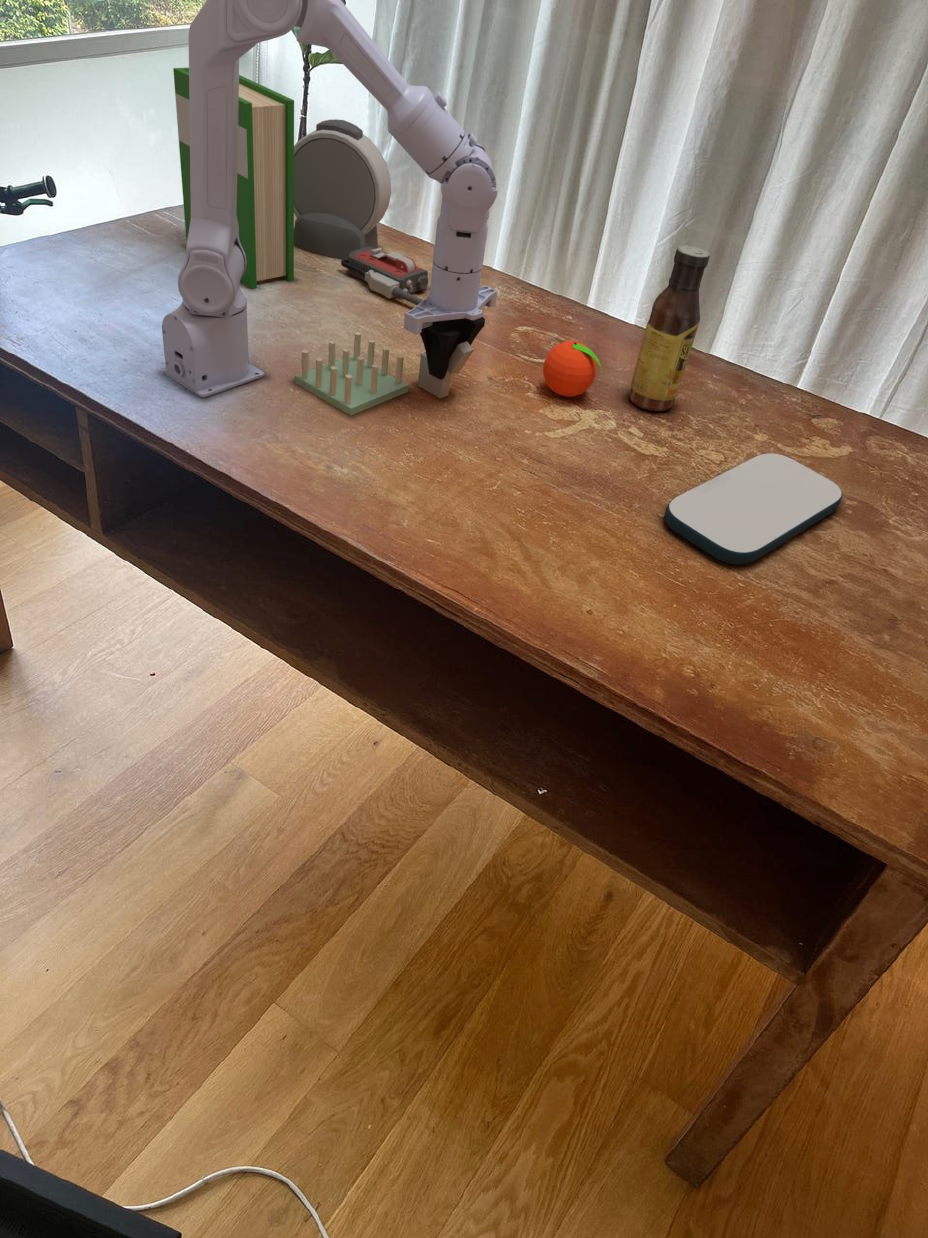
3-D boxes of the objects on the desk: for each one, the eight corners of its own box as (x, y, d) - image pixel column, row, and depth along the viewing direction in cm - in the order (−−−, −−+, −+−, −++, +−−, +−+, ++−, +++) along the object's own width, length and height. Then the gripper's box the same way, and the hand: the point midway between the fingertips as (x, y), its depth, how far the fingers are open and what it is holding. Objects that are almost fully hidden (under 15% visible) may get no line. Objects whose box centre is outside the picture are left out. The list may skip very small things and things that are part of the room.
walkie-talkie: (330, 273, 137) (429, 320, 129) (330, 244, 134) (433, 290, 126) (368, 261, 143) (466, 305, 135) (370, 233, 140) (470, 276, 132)
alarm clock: (392, 246, 149) (401, 126, 137) (371, 266, 141) (379, 140, 129) (302, 225, 151) (303, 104, 139) (276, 243, 143) (275, 117, 131)
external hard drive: (735, 576, 93) (742, 561, 91) (650, 520, 98) (654, 505, 97) (847, 506, 106) (854, 492, 105) (765, 460, 112) (771, 446, 110)
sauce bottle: (672, 418, 117) (720, 266, 104) (625, 407, 117) (667, 255, 104) (673, 395, 122) (720, 247, 108) (628, 385, 122) (669, 237, 109)
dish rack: (350, 415, 106) (352, 381, 103) (294, 382, 111) (294, 348, 108) (408, 391, 113) (411, 358, 110) (352, 361, 117) (354, 328, 114)
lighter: (416, 384, 114) (423, 325, 109) (426, 381, 115) (432, 322, 110) (457, 408, 111) (465, 348, 106) (466, 404, 112) (475, 344, 107)
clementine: (606, 396, 119) (619, 346, 114) (582, 415, 114) (594, 363, 109) (554, 375, 121) (565, 325, 117) (528, 392, 117) (539, 341, 112)
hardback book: (293, 280, 134) (294, 100, 118) (251, 288, 129) (245, 103, 113) (228, 239, 142) (220, 65, 126) (186, 246, 138) (173, 67, 122)
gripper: (441, 289, 96) (428, 402, 105) (523, 263, 105) (504, 369, 114) (394, 267, 99) (385, 379, 108) (477, 243, 108) (463, 348, 117)
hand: (444, 372), depth 111 cm, fingers closed
